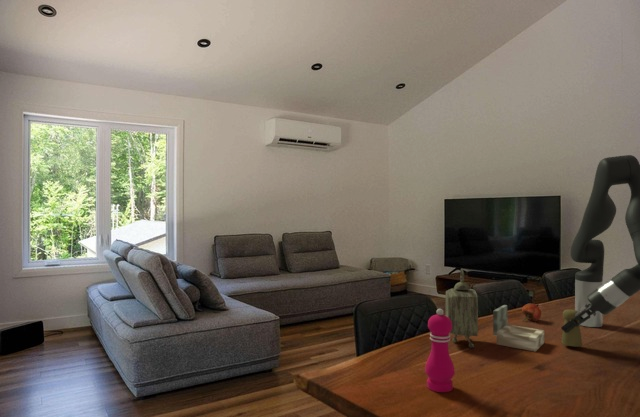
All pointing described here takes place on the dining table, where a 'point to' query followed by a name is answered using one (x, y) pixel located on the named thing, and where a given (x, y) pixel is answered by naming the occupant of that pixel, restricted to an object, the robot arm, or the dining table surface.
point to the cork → (574, 334)
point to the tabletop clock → (462, 310)
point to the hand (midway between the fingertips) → (565, 328)
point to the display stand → (515, 333)
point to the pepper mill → (439, 354)
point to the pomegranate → (531, 312)
